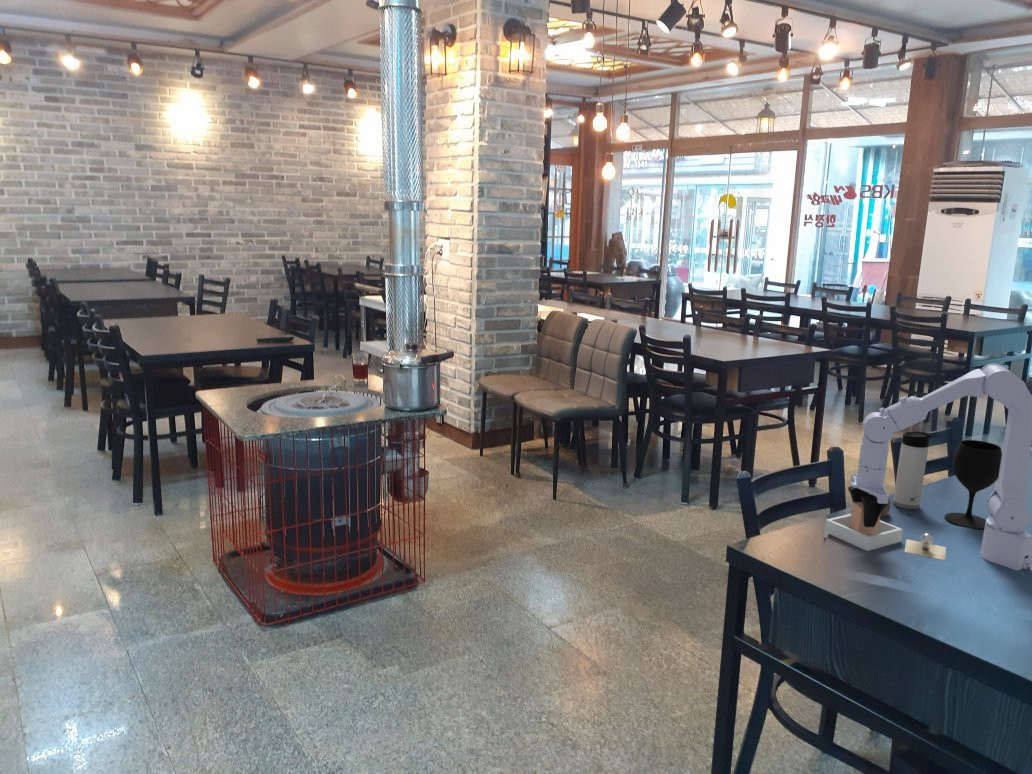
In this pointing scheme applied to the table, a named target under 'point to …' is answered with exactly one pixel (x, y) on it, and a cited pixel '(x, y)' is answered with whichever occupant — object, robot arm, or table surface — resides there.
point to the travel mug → (911, 469)
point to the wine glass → (974, 476)
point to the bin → (843, 531)
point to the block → (861, 520)
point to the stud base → (925, 547)
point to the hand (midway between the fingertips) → (864, 522)
